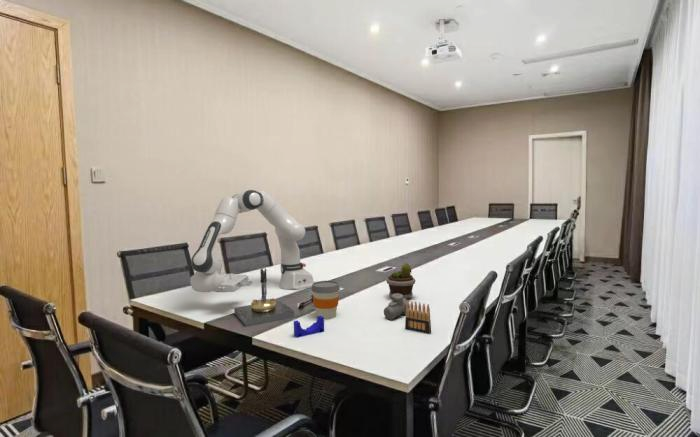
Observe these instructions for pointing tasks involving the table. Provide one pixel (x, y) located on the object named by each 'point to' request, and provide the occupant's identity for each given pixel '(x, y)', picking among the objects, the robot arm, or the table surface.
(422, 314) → the ammunition clip
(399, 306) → the pipe fitting
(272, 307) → the brass base with rod
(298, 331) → the blue cradle stand
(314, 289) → the reusable coffee cup
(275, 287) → the table surface
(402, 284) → the flowerpot
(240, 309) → the cap plate
